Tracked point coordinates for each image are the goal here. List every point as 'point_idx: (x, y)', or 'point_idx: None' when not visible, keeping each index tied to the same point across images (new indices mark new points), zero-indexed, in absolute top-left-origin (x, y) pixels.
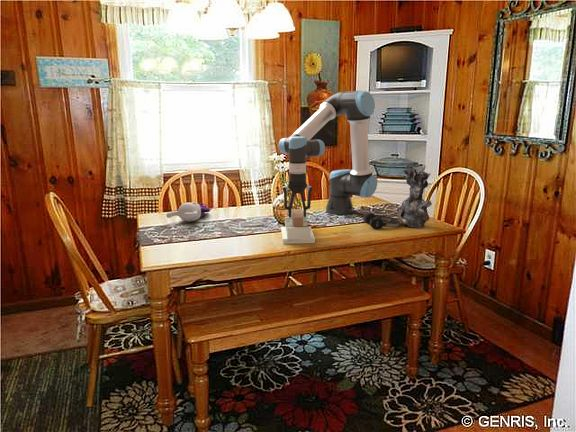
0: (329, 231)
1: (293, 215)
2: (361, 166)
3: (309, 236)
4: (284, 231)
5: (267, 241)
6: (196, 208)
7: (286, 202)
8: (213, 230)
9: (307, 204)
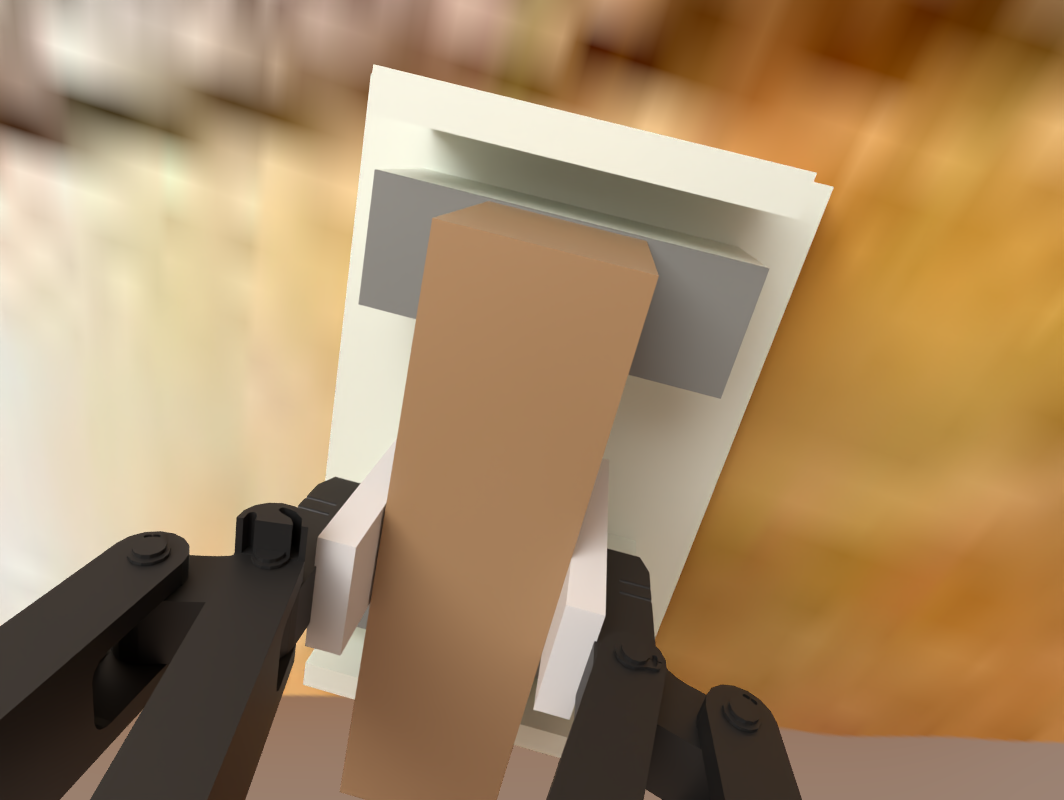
0: (1053, 316)
1: (357, 690)
2: None
3: None
4: (380, 320)
5: (196, 438)
6: None
7: (50, 781)
8: None
9: (712, 777)
